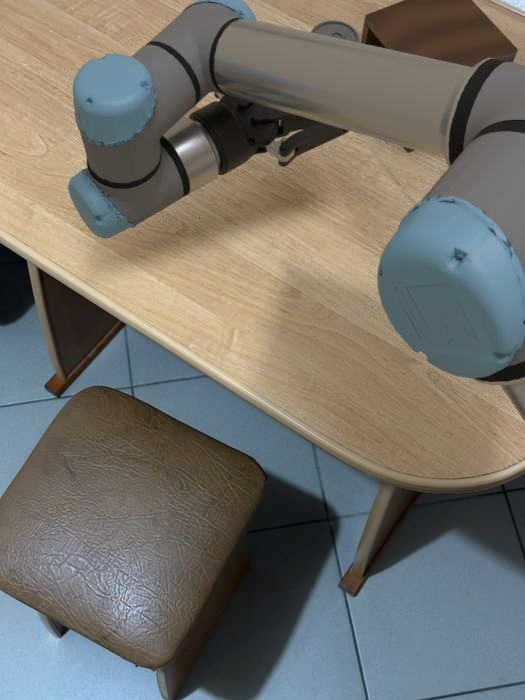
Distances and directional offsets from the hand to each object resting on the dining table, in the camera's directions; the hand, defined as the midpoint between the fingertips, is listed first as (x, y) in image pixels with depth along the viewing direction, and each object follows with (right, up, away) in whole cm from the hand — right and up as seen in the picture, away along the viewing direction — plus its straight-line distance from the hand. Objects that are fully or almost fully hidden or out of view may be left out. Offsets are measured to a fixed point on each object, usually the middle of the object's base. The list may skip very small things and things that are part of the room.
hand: (362, 59), depth 99 cm
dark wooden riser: (+12, +2, +27) cm, 30 cm away
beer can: (-4, -6, +4) cm, 8 cm away
